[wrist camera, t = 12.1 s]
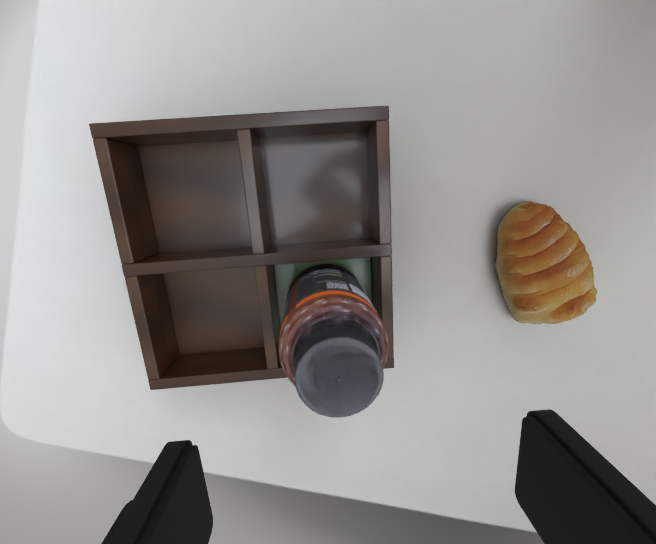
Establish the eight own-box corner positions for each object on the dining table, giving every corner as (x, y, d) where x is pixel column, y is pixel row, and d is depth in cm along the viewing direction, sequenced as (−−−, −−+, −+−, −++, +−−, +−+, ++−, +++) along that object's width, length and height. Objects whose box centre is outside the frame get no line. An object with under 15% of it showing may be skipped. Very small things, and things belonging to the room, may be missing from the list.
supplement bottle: (306, 344, 26) (303, 457, 15) (274, 280, 24) (244, 351, 13) (374, 315, 25) (423, 408, 14) (345, 249, 24) (375, 294, 13)
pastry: (469, 226, 25) (497, 231, 21) (547, 184, 24) (590, 182, 21) (509, 322, 27) (541, 342, 23) (581, 286, 27) (626, 300, 23)
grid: (128, 136, 22) (88, 123, 18) (375, 121, 23) (388, 105, 19) (174, 360, 26) (150, 390, 22) (381, 342, 27) (394, 367, 23)
